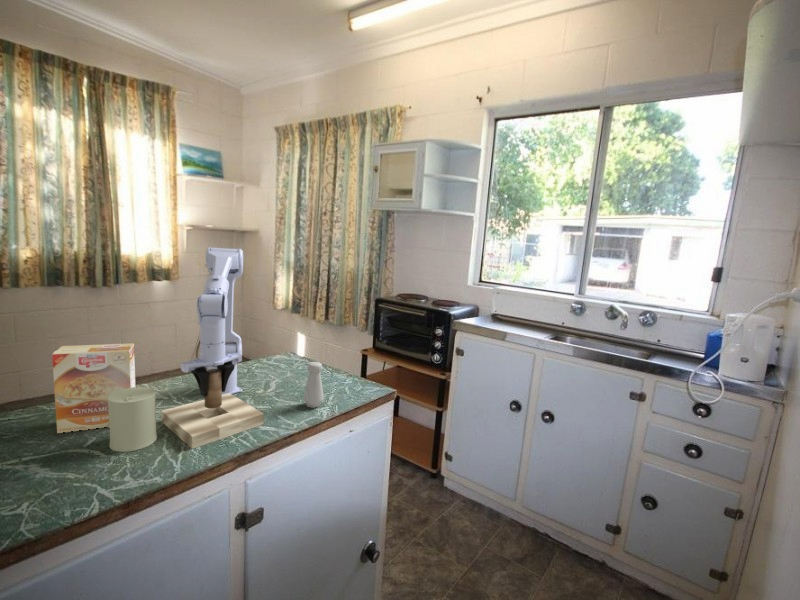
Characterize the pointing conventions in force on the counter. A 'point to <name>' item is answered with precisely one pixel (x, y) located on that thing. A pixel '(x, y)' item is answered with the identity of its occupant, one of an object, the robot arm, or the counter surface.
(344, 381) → the counter surface
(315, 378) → the salt shaker
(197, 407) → the socket block
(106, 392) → the coffeecake box
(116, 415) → the can
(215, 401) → the peg
